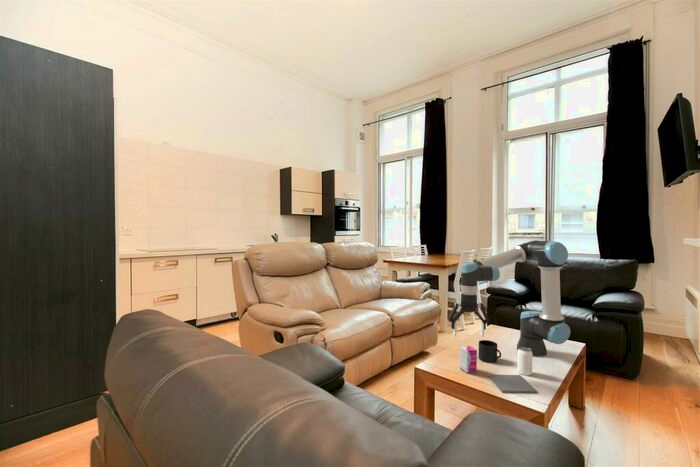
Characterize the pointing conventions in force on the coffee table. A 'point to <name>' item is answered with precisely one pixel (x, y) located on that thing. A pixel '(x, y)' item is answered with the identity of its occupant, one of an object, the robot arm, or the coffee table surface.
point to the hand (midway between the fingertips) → (468, 335)
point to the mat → (512, 384)
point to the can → (524, 361)
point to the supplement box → (468, 359)
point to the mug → (488, 351)
